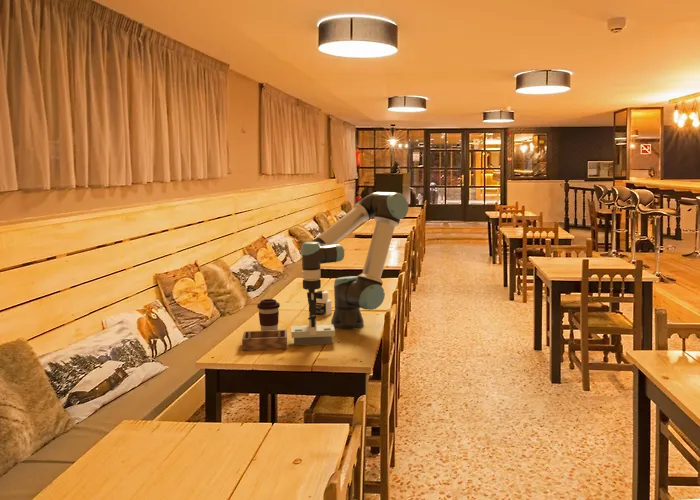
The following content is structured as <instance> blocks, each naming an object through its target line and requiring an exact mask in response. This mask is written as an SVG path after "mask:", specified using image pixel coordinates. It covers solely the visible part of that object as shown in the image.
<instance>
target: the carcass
mask: <svg viewBox="0 0 700 500" xmlns="http://www.w3.org/2000/svg"><path fill="white" fill-rule="evenodd" d="M242 335H243V336H242V338H241V341H242V342H241V343H242V346H241V347H242V352H251V351H253V352H254V351H274V350H275V351H276V350H280V351H281V350H288V330H287V329H278V330H270V331H261V330H248V331H247V330H246V331H244V330H243V334H242Z"/></svg>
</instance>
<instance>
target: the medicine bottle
mask: <svg viewBox="0 0 700 500" xmlns="http://www.w3.org/2000/svg"><path fill="white" fill-rule="evenodd" d="M315 292H316V293H317V298H316V317H325V318H326V317H328V316H330V315H332V311H333V310H332V299H329V292H328V291H326V290H318V291H315Z"/></svg>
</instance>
